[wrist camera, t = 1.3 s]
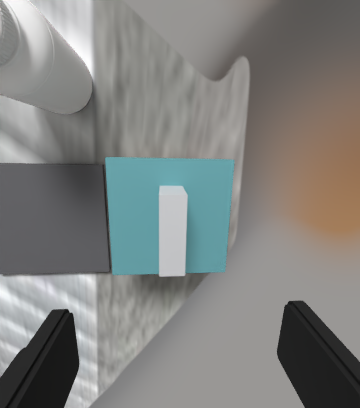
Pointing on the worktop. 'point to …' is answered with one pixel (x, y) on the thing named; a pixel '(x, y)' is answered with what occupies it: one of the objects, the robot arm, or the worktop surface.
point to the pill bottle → (39, 61)
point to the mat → (53, 219)
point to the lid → (168, 214)
